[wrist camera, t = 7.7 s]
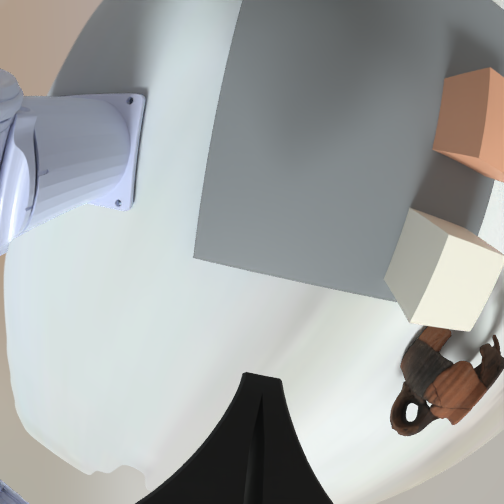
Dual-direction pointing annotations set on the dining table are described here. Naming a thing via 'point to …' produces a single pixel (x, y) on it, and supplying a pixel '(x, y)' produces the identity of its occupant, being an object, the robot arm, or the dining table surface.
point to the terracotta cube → (473, 121)
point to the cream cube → (442, 272)
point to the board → (339, 135)
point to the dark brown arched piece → (441, 382)
